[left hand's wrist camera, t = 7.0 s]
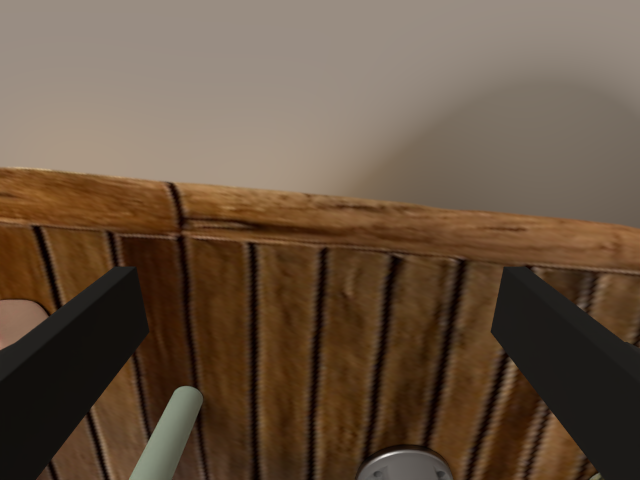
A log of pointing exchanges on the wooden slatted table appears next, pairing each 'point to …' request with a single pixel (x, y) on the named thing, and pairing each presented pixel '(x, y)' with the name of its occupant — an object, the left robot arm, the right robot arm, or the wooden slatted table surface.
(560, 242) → the wooden slatted table surface
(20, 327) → the anatomical model
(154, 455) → the pale green slim bottle
